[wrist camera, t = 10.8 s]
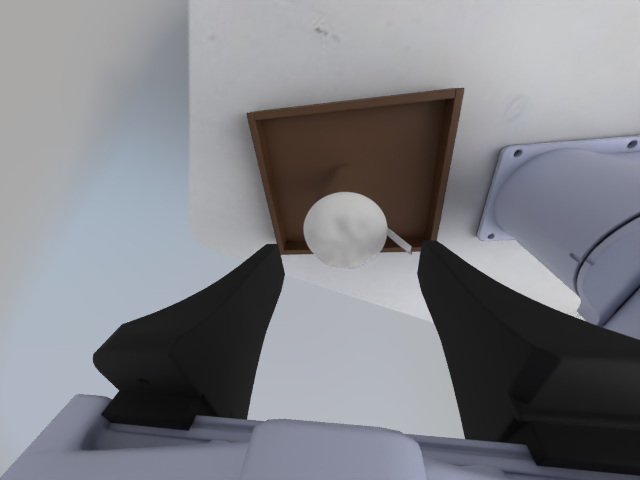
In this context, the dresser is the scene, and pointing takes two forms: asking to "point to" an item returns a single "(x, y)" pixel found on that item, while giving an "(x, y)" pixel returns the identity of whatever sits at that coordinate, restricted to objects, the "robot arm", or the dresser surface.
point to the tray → (360, 159)
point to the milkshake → (347, 221)
